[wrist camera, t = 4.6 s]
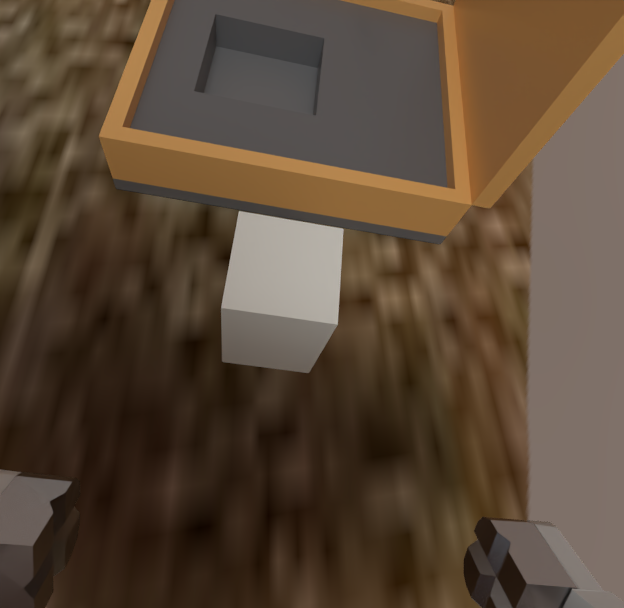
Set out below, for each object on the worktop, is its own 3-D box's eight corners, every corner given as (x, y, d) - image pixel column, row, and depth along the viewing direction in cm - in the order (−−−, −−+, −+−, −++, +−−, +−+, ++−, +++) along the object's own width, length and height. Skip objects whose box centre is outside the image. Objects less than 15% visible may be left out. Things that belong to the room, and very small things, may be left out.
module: (222, 362, 26) (221, 307, 19) (235, 281, 28) (239, 207, 21) (308, 373, 26) (337, 324, 20) (315, 293, 28) (343, 225, 22)
